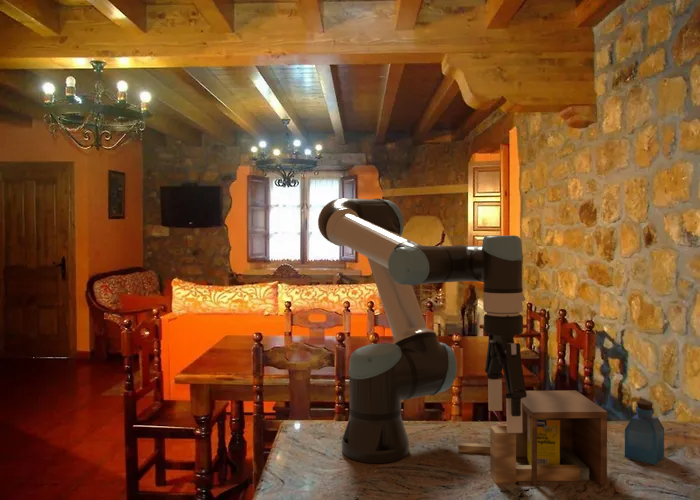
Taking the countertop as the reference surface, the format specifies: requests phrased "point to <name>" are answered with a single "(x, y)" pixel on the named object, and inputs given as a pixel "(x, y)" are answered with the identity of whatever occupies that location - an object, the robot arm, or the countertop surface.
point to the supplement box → (545, 441)
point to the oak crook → (509, 472)
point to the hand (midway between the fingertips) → (504, 420)
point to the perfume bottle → (644, 435)
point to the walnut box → (568, 428)
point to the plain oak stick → (474, 448)
